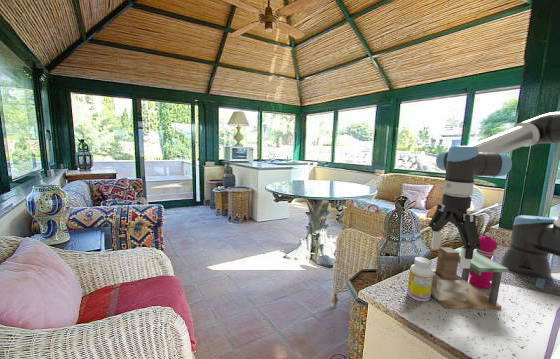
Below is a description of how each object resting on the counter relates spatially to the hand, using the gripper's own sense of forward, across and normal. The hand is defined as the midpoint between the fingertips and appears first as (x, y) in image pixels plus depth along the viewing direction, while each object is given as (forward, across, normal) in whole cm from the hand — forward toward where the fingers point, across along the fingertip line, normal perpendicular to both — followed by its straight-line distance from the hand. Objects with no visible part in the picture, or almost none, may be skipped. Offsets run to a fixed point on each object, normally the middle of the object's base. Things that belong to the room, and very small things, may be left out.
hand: (448, 257), depth 83 cm
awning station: (+13, 0, +4) cm, 14 cm away
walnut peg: (+12, 0, 0) cm, 12 cm away
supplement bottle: (+13, +1, -10) cm, 16 cm away
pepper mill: (+14, -7, +18) cm, 24 cm away
